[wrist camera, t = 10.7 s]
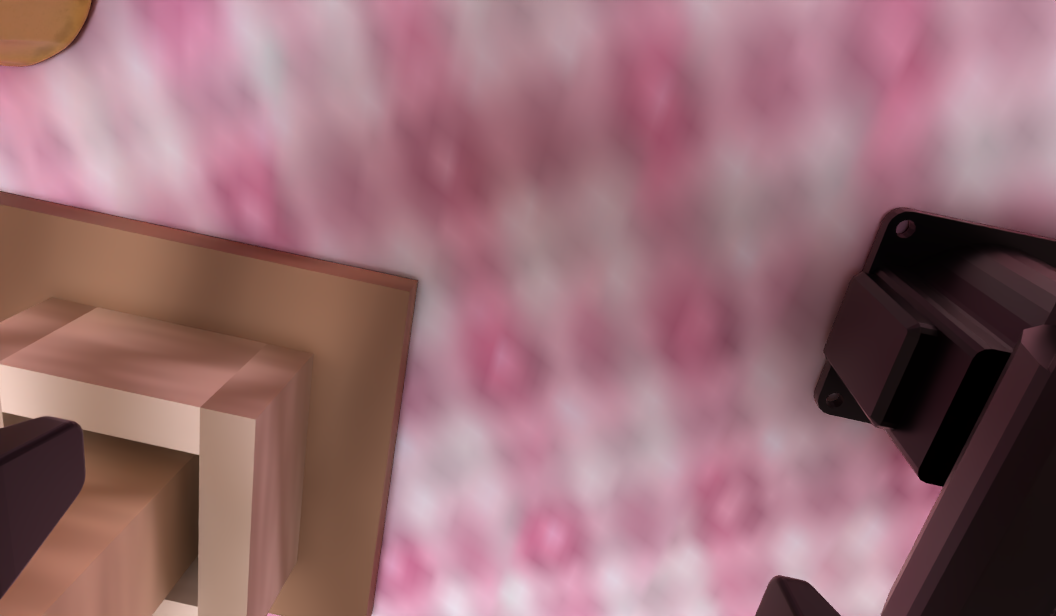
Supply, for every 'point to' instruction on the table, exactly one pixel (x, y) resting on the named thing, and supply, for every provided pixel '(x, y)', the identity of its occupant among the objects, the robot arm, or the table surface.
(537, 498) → the table surface
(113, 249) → the well
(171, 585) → the peg
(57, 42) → the vase
